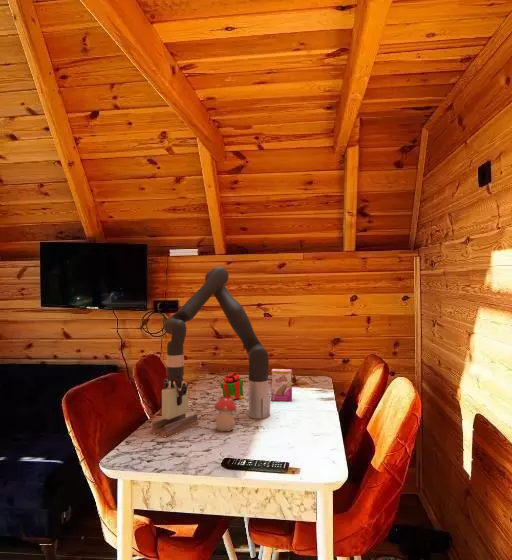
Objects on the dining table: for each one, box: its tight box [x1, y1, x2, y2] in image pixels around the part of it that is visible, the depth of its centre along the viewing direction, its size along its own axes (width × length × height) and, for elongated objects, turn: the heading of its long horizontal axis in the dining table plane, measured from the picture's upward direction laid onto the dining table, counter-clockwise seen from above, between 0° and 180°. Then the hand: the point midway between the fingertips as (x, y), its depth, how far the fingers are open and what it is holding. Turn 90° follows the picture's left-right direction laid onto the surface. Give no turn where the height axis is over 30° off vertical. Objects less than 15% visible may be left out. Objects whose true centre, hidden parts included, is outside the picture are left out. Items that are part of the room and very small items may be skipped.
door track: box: [150, 413, 200, 438], centre depth 181 cm, size 10×19×4 cm, turn 146°
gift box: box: [219, 372, 249, 401], centre depth 227 cm, size 20×19×14 cm
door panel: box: [161, 387, 189, 420], centre depth 181 cm, size 4×12×12 cm, turn 146°
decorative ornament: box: [214, 395, 237, 432], centre depth 179 cm, size 9×7×15 cm
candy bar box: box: [270, 368, 293, 402], centre depth 224 cm, size 11×5×16 cm, turn 84°
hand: (175, 403), depth 181 cm, fingers closed on door panel, 4 cm apart
